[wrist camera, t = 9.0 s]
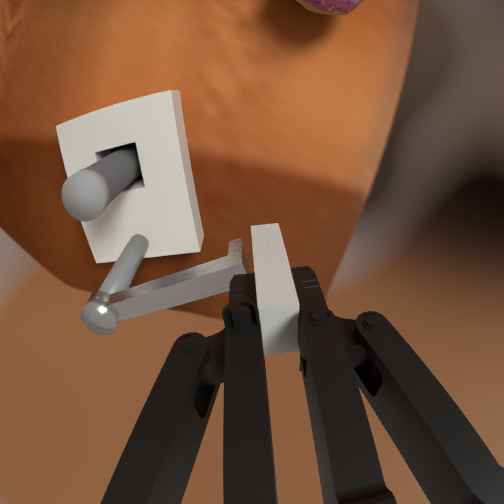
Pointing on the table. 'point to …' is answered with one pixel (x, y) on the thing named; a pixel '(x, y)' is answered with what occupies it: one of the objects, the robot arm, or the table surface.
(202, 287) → the clip
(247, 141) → the table surface
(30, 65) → the table surface
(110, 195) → the plug
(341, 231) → the table surface
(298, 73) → the table surface
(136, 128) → the socket block
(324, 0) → the cupcake
